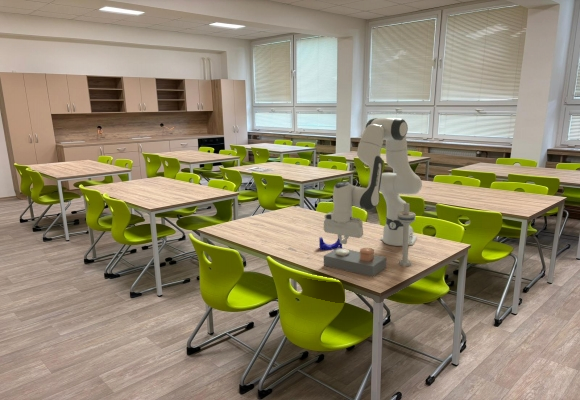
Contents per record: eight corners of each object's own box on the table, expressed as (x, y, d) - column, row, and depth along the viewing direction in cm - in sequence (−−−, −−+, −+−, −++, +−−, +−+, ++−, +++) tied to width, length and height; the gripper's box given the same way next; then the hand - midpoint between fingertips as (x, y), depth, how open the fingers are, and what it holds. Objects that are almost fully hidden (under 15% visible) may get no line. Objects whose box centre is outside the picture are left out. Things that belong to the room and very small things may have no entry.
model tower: (417, 266, 195) (419, 204, 189) (402, 268, 193) (404, 206, 186) (407, 260, 203) (408, 201, 197) (392, 263, 200) (393, 202, 194)
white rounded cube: (340, 259, 206) (340, 248, 205) (351, 262, 202) (351, 250, 201) (333, 263, 201) (333, 251, 200) (345, 266, 197) (345, 254, 196)
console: (338, 257, 211) (338, 247, 210) (386, 267, 195) (386, 257, 194) (323, 265, 200) (323, 255, 199) (372, 277, 184) (372, 266, 183)
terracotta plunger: (363, 258, 197) (364, 246, 196) (376, 261, 194) (376, 249, 192) (357, 262, 192) (357, 250, 191) (370, 265, 189) (370, 253, 187)
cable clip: (320, 250, 222) (320, 239, 221) (319, 247, 226) (319, 237, 225) (342, 249, 223) (342, 238, 222) (341, 246, 227) (340, 236, 226)
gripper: (365, 217, 193) (365, 245, 196) (328, 211, 205) (329, 238, 208) (359, 220, 188) (359, 249, 191) (321, 214, 200) (322, 241, 203)
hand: (343, 243), depth 200 cm, fingers closed
